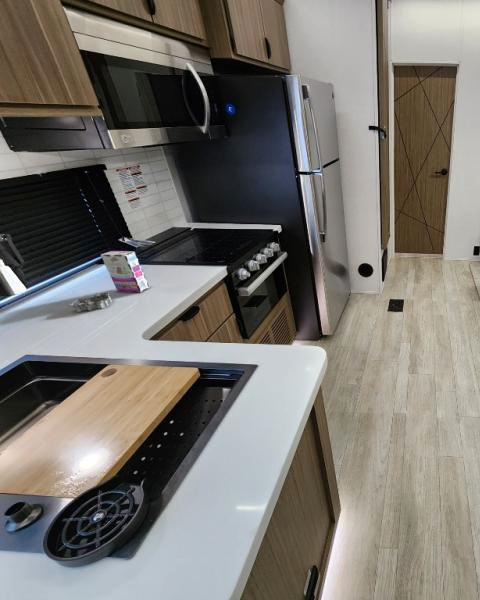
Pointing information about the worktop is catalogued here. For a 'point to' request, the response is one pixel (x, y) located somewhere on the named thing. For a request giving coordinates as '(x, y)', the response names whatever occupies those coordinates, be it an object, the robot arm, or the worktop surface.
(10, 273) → the pepper shaker
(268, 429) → the worktop surface
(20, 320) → the worktop surface
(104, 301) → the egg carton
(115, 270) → the candy bar box
